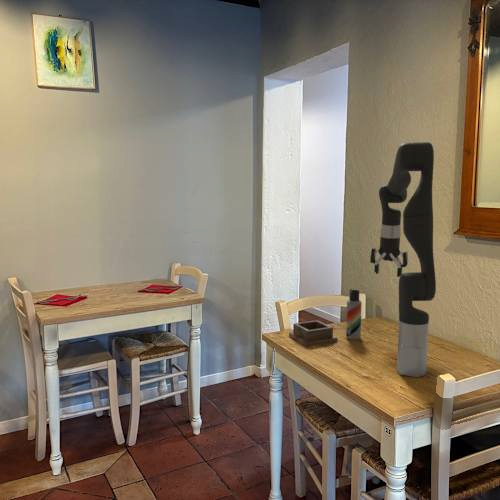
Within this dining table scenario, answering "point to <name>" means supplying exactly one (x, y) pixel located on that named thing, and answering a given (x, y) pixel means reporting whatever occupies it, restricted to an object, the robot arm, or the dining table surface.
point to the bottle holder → (312, 333)
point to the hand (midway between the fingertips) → (387, 275)
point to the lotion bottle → (353, 316)
